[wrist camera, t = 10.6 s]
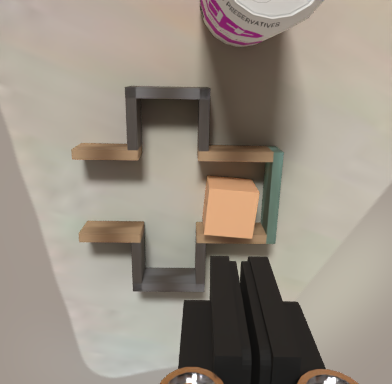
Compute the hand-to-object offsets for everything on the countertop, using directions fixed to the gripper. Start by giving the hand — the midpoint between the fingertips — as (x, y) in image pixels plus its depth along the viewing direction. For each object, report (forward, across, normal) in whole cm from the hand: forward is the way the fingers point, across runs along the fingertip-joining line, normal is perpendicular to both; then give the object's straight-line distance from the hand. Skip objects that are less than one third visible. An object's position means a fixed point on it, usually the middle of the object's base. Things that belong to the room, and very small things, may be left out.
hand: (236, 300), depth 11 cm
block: (+30, -2, +8) cm, 31 cm away
